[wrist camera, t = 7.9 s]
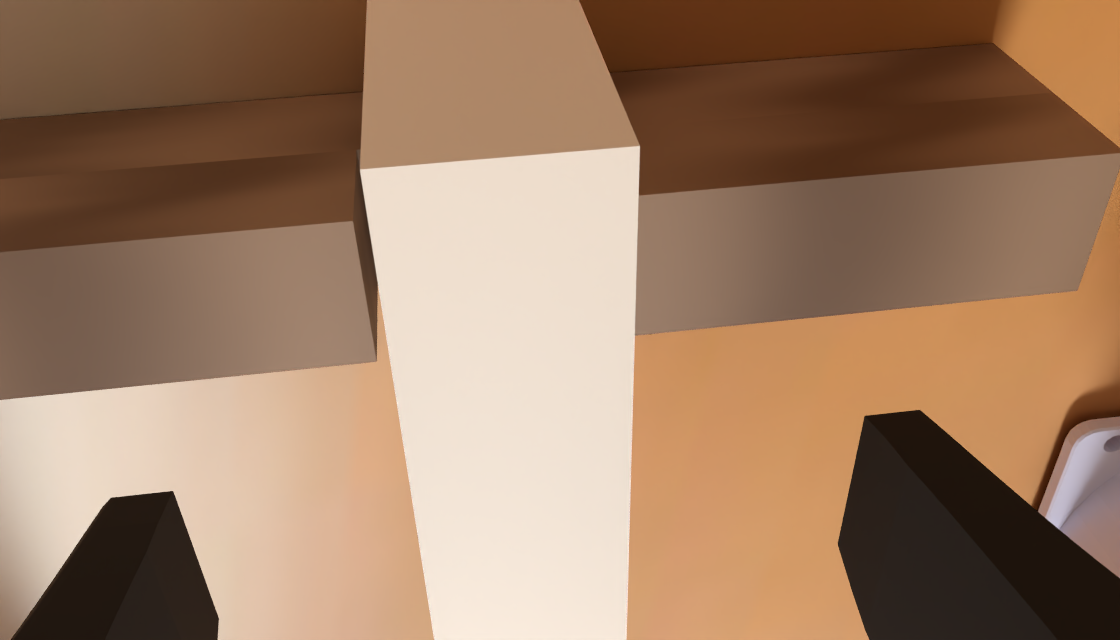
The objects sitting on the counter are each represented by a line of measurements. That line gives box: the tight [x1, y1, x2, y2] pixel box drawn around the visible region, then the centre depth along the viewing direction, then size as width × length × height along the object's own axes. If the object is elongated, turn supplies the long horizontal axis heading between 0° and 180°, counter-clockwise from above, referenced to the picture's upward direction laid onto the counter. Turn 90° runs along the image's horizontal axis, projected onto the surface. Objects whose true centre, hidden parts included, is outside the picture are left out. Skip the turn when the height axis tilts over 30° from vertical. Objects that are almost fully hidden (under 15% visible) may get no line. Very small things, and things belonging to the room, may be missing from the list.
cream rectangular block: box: [360, 0, 640, 640], centre depth 14 cm, size 8×2×8 cm, turn 1°
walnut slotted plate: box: [0, 43, 1120, 400], centre depth 16 cm, size 18×2×4 cm, turn 91°
